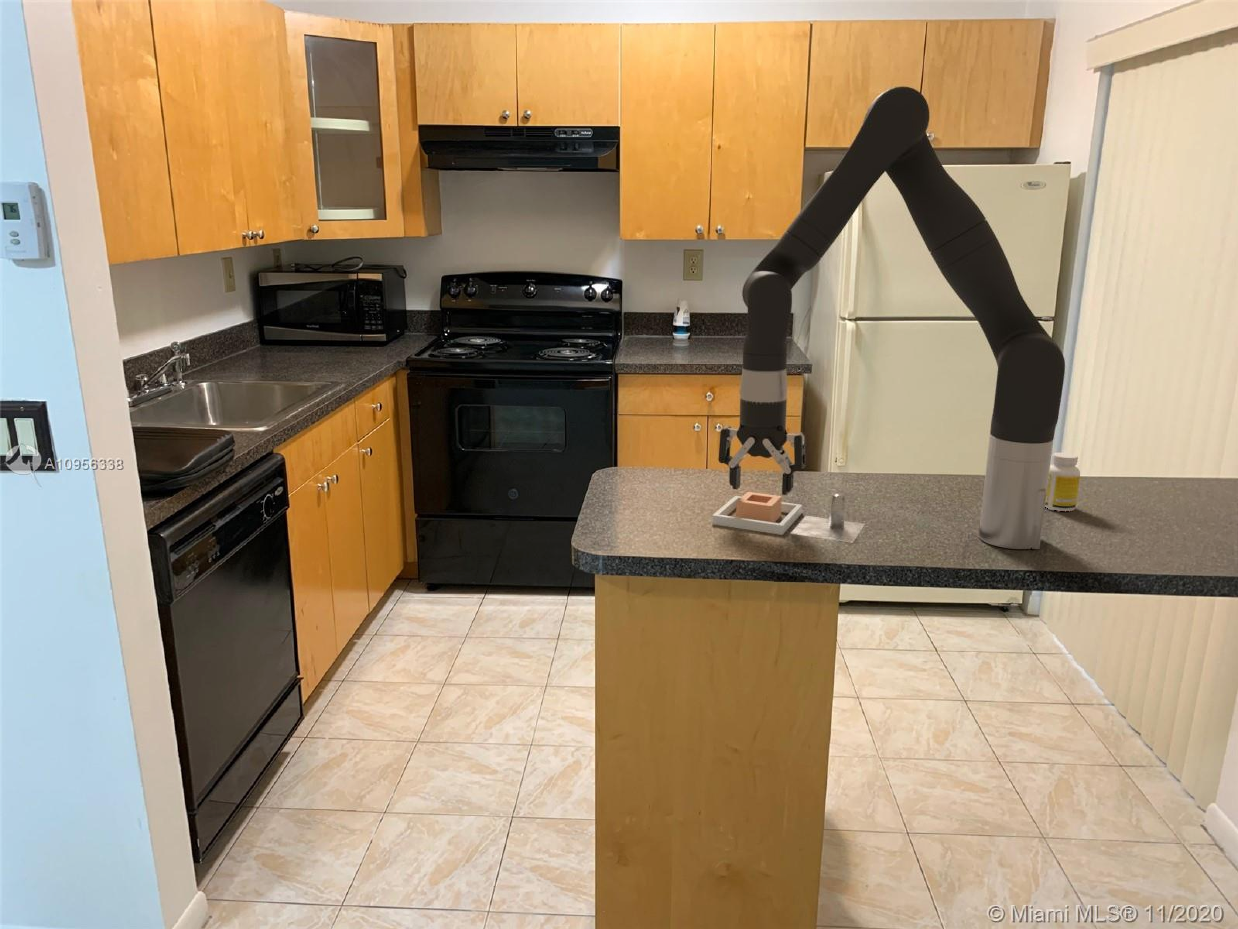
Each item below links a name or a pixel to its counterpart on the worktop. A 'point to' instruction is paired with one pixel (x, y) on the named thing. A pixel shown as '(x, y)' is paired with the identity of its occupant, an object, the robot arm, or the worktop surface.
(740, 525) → the tray
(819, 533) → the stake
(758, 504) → the ring
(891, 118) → the robot arm
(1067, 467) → the supplement bottle
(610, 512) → the worktop surface
